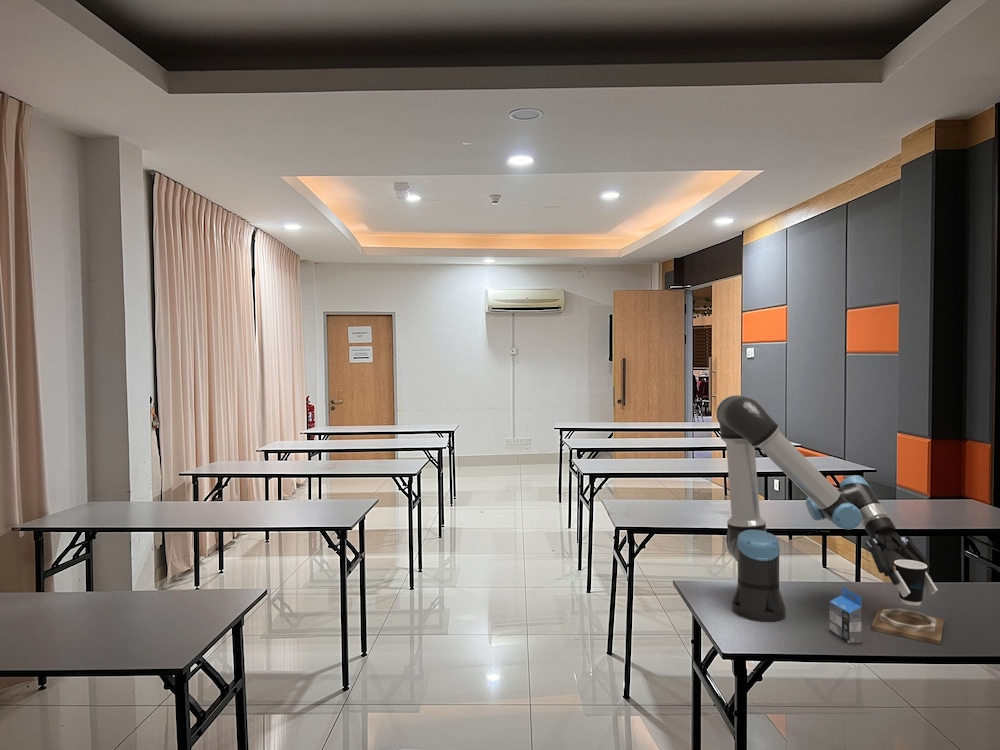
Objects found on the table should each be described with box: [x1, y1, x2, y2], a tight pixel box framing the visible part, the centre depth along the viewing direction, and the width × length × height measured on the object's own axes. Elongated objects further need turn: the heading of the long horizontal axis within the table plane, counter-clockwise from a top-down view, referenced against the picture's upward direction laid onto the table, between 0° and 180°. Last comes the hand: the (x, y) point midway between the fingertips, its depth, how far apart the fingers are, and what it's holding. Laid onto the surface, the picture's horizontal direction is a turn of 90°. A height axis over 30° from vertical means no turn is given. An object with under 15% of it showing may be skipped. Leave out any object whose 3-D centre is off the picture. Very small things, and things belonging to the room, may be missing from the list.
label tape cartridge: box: [829, 586, 863, 645], centre depth 175 cm, size 9×4×12 cm, turn 5°
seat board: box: [870, 606, 945, 645], centre depth 181 cm, size 16×18×3 cm
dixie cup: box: [893, 559, 928, 606], centre depth 181 cm, size 8×8×11 cm
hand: (920, 593), depth 178 cm, fingers closed on dixie cup, 8 cm apart
